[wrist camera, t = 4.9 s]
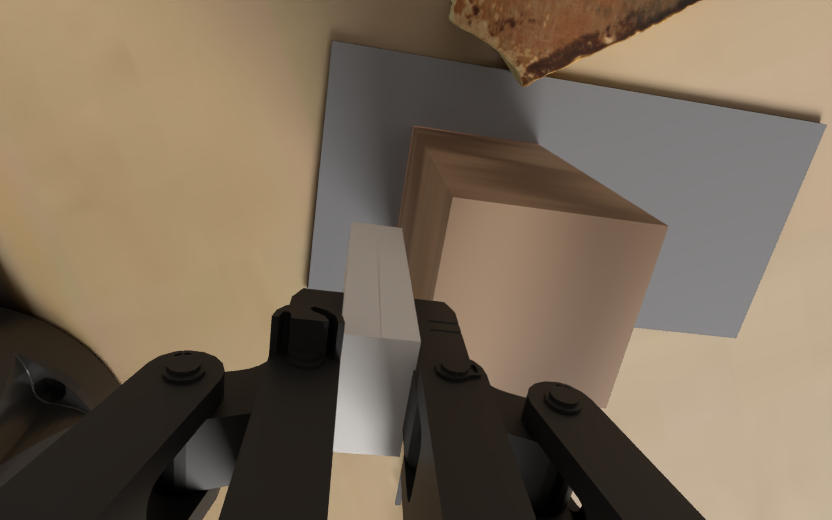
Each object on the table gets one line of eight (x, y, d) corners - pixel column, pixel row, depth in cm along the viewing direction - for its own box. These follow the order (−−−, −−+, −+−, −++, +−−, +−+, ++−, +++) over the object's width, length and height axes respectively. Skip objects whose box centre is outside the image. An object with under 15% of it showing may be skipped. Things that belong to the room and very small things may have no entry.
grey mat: (308, 289, 28) (307, 293, 28) (332, 40, 24) (332, 40, 23) (731, 334, 32) (736, 338, 31) (820, 123, 27) (827, 124, 27)
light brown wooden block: (394, 247, 27) (415, 392, 16) (413, 125, 25) (452, 196, 14) (510, 261, 28) (605, 408, 17) (538, 144, 26) (668, 226, 15)
